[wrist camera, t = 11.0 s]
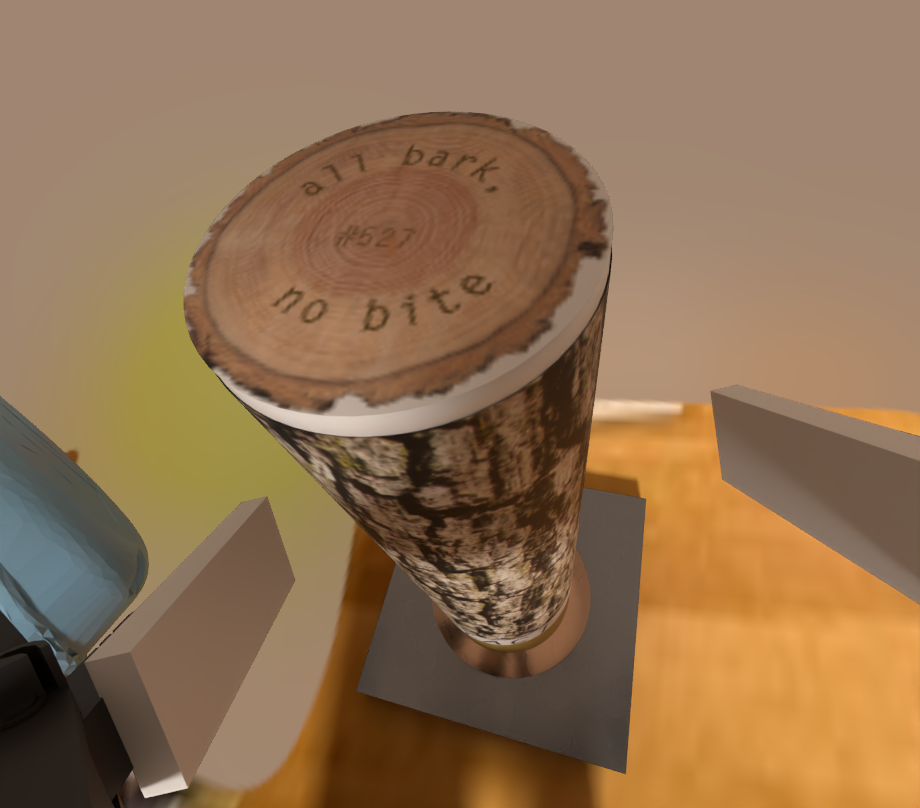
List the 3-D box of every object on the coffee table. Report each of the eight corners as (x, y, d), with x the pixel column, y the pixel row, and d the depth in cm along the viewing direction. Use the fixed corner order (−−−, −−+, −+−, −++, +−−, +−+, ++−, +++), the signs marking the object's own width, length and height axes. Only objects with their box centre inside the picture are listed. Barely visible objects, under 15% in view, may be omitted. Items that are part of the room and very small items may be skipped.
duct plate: (364, 692, 29) (354, 690, 27) (432, 469, 35) (427, 458, 34) (621, 771, 25) (626, 774, 24) (641, 507, 32) (646, 497, 31)
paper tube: (466, 519, 31) (294, 111, 11) (578, 544, 30) (637, 109, 9) (434, 635, 28) (93, 378, 7) (557, 671, 26) (576, 463, 5)
